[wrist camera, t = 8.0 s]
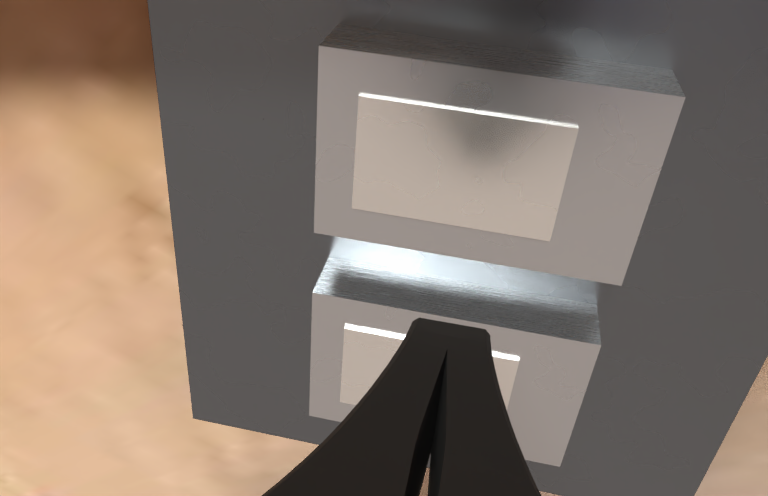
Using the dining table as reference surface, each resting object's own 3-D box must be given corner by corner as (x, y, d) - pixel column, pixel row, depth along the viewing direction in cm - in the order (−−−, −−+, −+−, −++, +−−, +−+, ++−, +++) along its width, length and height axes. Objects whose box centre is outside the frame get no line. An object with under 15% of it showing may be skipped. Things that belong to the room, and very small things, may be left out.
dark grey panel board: (1060, -254, 12) (1172, -266, 10) (677, 501, 25) (690, 570, 23) (130, -328, 15) (56, -351, 12) (202, 403, 27) (170, 457, 25)
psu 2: (597, 304, 20) (601, 348, 18) (558, 423, 23) (559, 469, 21) (328, 257, 21) (311, 294, 19) (323, 376, 24) (308, 417, 22)
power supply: (672, 69, 16) (686, 99, 14) (615, 247, 19) (622, 288, 17) (338, 23, 17) (317, 47, 15) (331, 200, 20) (312, 234, 18)
